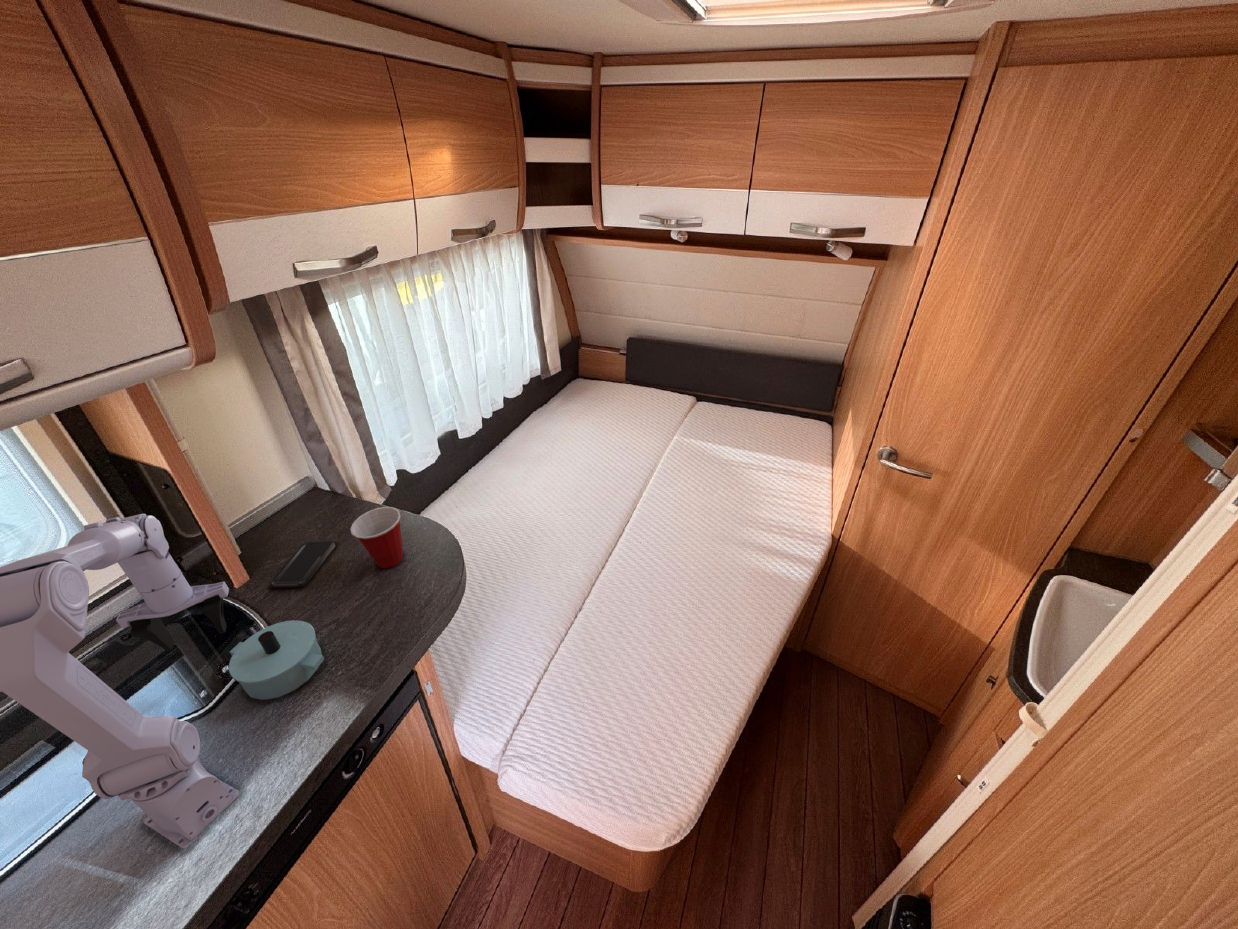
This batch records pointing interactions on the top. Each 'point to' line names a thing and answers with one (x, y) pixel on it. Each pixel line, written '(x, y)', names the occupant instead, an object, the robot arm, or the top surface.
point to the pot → (285, 676)
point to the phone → (303, 564)
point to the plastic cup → (380, 535)
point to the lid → (272, 652)
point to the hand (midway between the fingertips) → (197, 638)
